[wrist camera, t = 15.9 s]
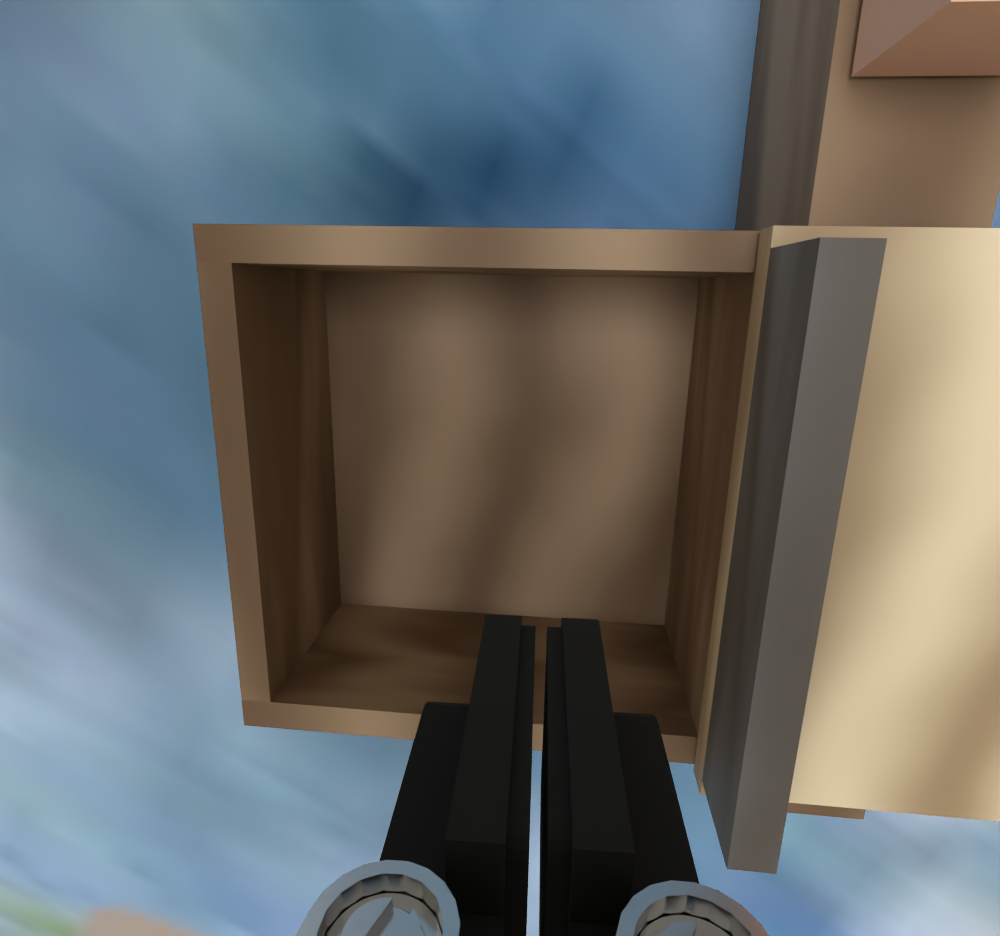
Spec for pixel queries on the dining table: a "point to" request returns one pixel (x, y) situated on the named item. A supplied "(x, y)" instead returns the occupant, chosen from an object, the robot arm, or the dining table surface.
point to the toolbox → (533, 406)
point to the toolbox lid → (859, 538)
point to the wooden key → (928, 38)
